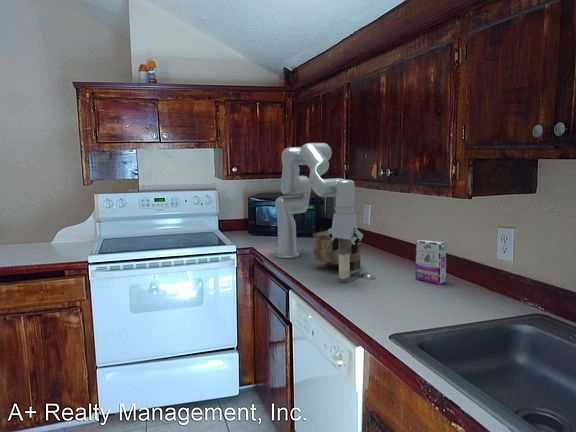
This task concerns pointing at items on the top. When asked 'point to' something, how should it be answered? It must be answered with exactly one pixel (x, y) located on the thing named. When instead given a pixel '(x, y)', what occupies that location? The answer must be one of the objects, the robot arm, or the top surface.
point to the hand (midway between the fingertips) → (344, 251)
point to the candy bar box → (431, 261)
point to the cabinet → (327, 254)
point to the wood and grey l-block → (347, 269)
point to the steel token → (369, 276)
